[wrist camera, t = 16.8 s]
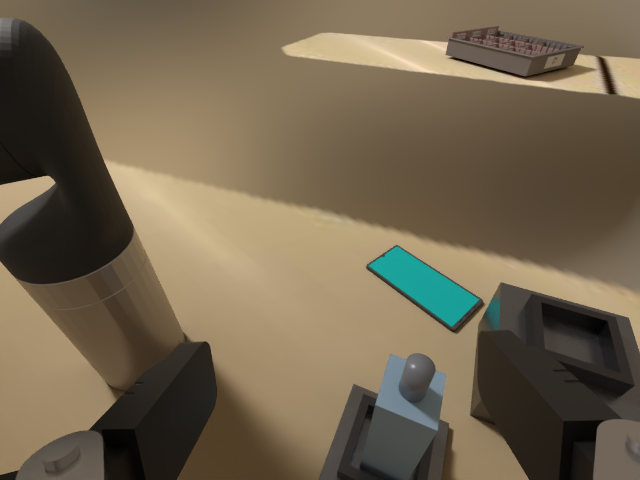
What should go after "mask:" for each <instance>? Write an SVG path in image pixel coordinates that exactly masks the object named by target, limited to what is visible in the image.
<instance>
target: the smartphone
mask: <svg viewBox="0 0 640 480" xmlns="http://www.w3.org/2000/svg"><path fill="white" fill-rule="evenodd" d="M366 268H367V269H368V270H369V271H370V272H372V273H373V274H374V275H376V276H377V277H378V278H380V279H381V280H382V281H384V282H385V283H387V284H388V285H389V286H391V287H392V288H393V289H395V290H396V291H397V292H399V293H400V294H401V295H403V296H404V297H405V298H407V299H408V300H409V301H411V302H412V303H414V304H415V305H416V306H418V307H419V308H420V309H422V310H423V311H424V312H426V313H427V314H428V315H430V316H431V317H432V318H434V319H435V320H436V321H438V322H439V323H440V324H442V325H443V326H445V327H446V328H447V329H449V330H450V331H452V332H454V331H455V330H456V329H457V328H458V327H459V326H460V325H461V324H462V323H463V322H464V321H465V320H466V319H467V318H468V317H469V316H470V315H471V314H472V313H473V312H474V311H475V310H476V309H477V308H478V307H479V306H480V305H481V304H482V302H483V300H482V299H481V298H479V297H477V296H476V295H474V294H473V293H471V292H470V291H468V290H467V289H465V288H463V287H462V286H460V285H459V284H457V283H456V282H454V281H453V280H451V279H449V278H448V277H446V276H445V275H443V274H442V273H440V272H438V271H437V270H435V269H434V268H432V267H431V266H429V265H428V264H426V263H424V262H423V261H421V260H420V259H418V258H417V257H415V256H414V255H412V254H410V253H409V252H407V251H406V250H404V249H403V248H401V247H400V246H398V245H396V246H394V247H393V248H391V249H390V250H388V251H387V252H385V253H384V254H382V255H381V256H379V257H378V258H376V259H375V260H373V261H372V262H370V263H369V264H367V267H366Z"/></svg>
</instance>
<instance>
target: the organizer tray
mask: <svg viewBox="0 0 640 480" xmlns="http://www.w3.org/2000/svg"><path fill="white" fill-rule="evenodd" d="M498 28H499V26H495V27H487V28H481V29H473V30H466V31H459V32H453V34H452V37H447V38H449V42H448V46H447V51H446V55H448V56H452V57H456V58H459V59H463V60H467V61H470V62H474V63H478V64H481V65H485V66H489V67H493V68H496V69H500V70H504V71H507V72H511V73H515V74H518V75H522V76H530V75H534V74H538V73H542V72H546V71H551V70H555V69H559V68H563V67H567V66H571V65H574V62H575V60H576V58H577V56H578V54H579V51H580V49H581V48H584V46H580V45H574V44H569V43H563V42H558V41H552V40H547V39H542V38H536V37H531V36H525V35H520V34H514V33H509V32H503V31H498Z"/></svg>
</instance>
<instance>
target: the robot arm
mask: <svg viewBox="0 0 640 480" xmlns="http://www.w3.org/2000/svg"><path fill="white" fill-rule="evenodd" d="M42 176H50V177H51V178H52V179H54V181H55V182H56V183H55V184H54V185H53V186H52V187H51V188H50V189H49V190H47V191H46V192H44V193H43V194H41V195H40V196H38V197H36V198H35V199H33V200H31V201H30V202H28V203H26V204H25V205H23V206H21V207H20V208H18V209H17V210H16V211H14V212H13V213H12V214H10V215H9V216H8V217H7V218H6V219H5V220H4V221H3V222H2V223H1V225H0V261H1V263H2V264H3V265H4V266H5V267H6V268H7V269H8V271H9V272H10V273H11V274H12V275H13V276H14V277H15V279H16V280H17V281H18V282H19V283H20V284H21V285H22V287H23V288H24V289H25V290H26V291H27V292H28V293H29V295H30V296H31V297H32V298H33V299H34V300H35V301H36V302H37V303H38V304H39V306H40V307H41V308H42V309H43V310H44V311H45V312H46V314H47V315H48V316H49V317H50V318H51V319H52V321H53V322H54V323H55V324H56V325H57V326H58V327H59V329H60V330H61V331H62V332H63V333H64V334H65V335H66V337H67V338H68V339H69V340H70V341H71V342H72V343H73V345H74V346H75V347H76V348H77V349H78V350H79V351H80V353H81V354H82V355H83V356H84V357H85V358H86V359H87V361H88V362H89V363H90V364H91V365H92V367H93V368H94V369H95V370H96V371H97V372H98V373H99V374H100V376H101V377H102V378H103V379H104V380H105V381H106V382H107V383H108V384H109V385H110V386H112V387H114V388H115V389H119V390H127V391H126V392H125V395H122V396H121V397H120V398H119V399H118V400H117V401H116V402H115V403H114V404H113V405H112V406H111V407H110V408H109V410H108V411H107V412H106V413H105V414H104V415H103V416H102V417H101V418H100V419H99V420H98V421H97V422H96V423H95V424H94V425H93V426H92V427H91V428H90V429H89V430H88V431H79V432H75V433H71V434H68V435H66V436H63V437H61V438H58V439H56V440H54V441H52V442H51V443H49V444H47V445H46V446H44V447H42V448H41V449H40V450H38V451H37V452H36V453H34V454H33V455H32V456H31V457H30V458H29V459H28V460H27V461H26V462H25V463H24V464H23V465H22V467H21V468H20V470H18V471H14V472H10V473H7V474H3V475H0V480H177V478H178V476H179V474H180V472H181V470H182V468H183V466H184V464H185V463H186V461H187V459H188V457H189V455H190V453H191V451H192V449H193V447H194V445H195V444H196V442H197V440H198V438H199V436H200V434H201V432H202V430H203V428H204V427H205V425H206V423H207V421H208V419H209V417H210V415H211V413H212V411H213V409H214V407H215V403H216V397H217V386H216V380H215V374H214V367H213V361H212V355H211V349H210V346H209V344H208V342H185V337H184V334H183V331H182V329H181V327H180V325H179V322H178V320H177V318H176V316H175V314H174V311H173V309H172V307H171V305H170V303H169V301H168V299H167V296H166V294H165V292H164V290H163V288H162V286H161V284H160V281H159V279H158V277H157V275H156V273H155V271H154V269H153V266H152V264H151V262H150V260H149V258H148V256H147V254H146V252H145V250H144V248H143V245H142V243H141V241H140V239H139V237H138V235H137V233H136V230H135V228H134V226H133V224H132V222H131V220H130V217H129V215H128V213H127V211H126V209H125V207H124V205H123V203H122V200H121V198H120V196H119V194H118V192H117V189H116V187H115V185H114V183H113V181H112V178H111V176H110V174H109V172H108V170H107V167H106V165H105V163H104V160H103V158H102V155H101V153H100V150H99V148H98V146H97V143H96V140H95V138H94V135H93V133H92V130H91V128H90V125H89V122H88V120H87V117H86V114H85V112H84V109H83V106H82V104H81V101H80V99H79V97H78V94H77V92H76V90H75V87H74V85H73V82H72V80H71V78H70V76H69V74H68V72H67V70H66V69H65V66H64V64H63V63H62V61H61V59H60V57H59V55H58V54H57V52H56V51H55V49H54V48H53V46H52V45H51V44H50V42H49V41H48V40H47V39H46V38H45V37H44V36H43V35H42V33H41V32H40V31H38V30H37V29H36V28H35V27H33V26H32V25H31V24H29V23H27V22H25V21H23V20H19V19H15V18H0V185H2V184H7V183H12V182H17V181H22V180H27V179H32V178H37V177H42ZM477 382H478V389H479V394H480V397H481V400H482V402H483V404H484V406H485V407H486V409H487V411H488V412H489V414H490V416H491V417H492V419H493V421H494V422H495V424H496V426H497V427H498V429H499V430H500V432H501V434H502V435H503V437H504V439H505V440H506V442H507V444H508V445H509V447H510V449H511V450H512V452H513V454H514V455H515V457H516V459H517V460H518V462H519V464H520V465H521V467H522V468H523V470H524V472H525V473H526V475H527V477H528V478H529V480H640V422H636V421H631V420H624V419H622V418H621V417H620V416H619V415H618V414H617V413H616V412H614V411H613V410H612V409H611V408H610V407H609V406H608V405H607V404H605V403H604V402H603V401H602V400H601V399H600V398H599V397H598V396H596V395H595V394H594V393H593V392H592V391H591V390H590V389H589V388H587V387H586V386H585V385H584V384H583V383H580V382H579V380H578V379H577V378H576V377H575V376H574V375H573V374H572V373H571V372H568V371H567V369H566V368H565V367H564V366H563V365H562V364H560V363H559V362H558V361H557V360H556V359H555V358H554V357H552V356H550V355H548V354H547V353H545V352H543V351H541V350H539V349H537V348H535V347H528V346H527V345H526V344H525V343H524V342H523V341H522V340H521V339H519V338H518V337H517V336H516V335H515V334H514V333H513V332H512V331H511V330H488V331H481V332H480V333H479V337H478V372H477Z"/></svg>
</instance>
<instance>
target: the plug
mask: <svg viewBox="0 0 640 480" xmlns="http://www.w3.org/2000/svg"><path fill="white" fill-rule="evenodd" d="M445 378H446V374H444V373H442V372H439V371H436V370H435V365H434V363H433V361H432V360H431V359H430V358H429V357H427V356H426V355H423V354H419V353H416V354H412V355H410V356H409V357H408V358H407V360H406V359H403V358H400V357H398V356H395V355H392V354H390V357H389V360H388V363H387V367H386V370H385V373H384V377H383V380H382V384H381V387H380V390H379V394H378V397H377V401H376V404H375V408H374V412H373V416H372V420H371V424H370V428H369V432H368V436H367V440H366V444H365V448H364V452H363V456H362V460H361V464H360V467H362V468H364V469H366V470H368V471H370V472H372V473H374V474H376V475H378V476H380V477H382V478H384V479H387V480H408V479H409V478H410V476H411V474H412V473H413V471H414V469H415V468H416V466H417V464H418V463H419V461H420V459H421V458H422V456H423V454H424V453H425V451H426V449H427V448H428V446H429V444H430V443H431V441H432V439H433V438H434V436H435V434H436V433H437V431H438V425H439V418H440V411H441V405H442V398H443V391H444V385H445Z"/></svg>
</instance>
